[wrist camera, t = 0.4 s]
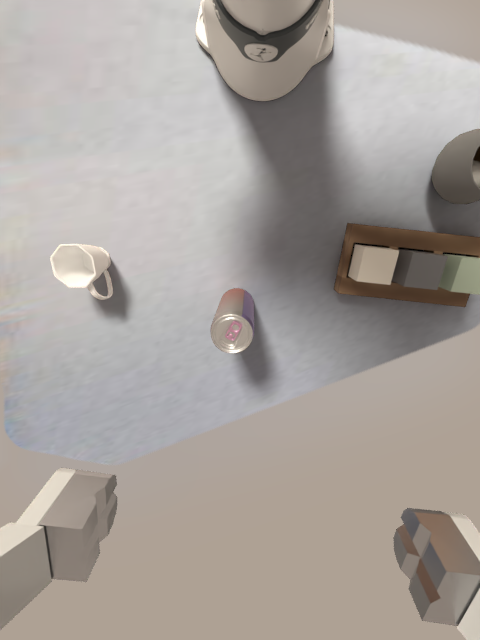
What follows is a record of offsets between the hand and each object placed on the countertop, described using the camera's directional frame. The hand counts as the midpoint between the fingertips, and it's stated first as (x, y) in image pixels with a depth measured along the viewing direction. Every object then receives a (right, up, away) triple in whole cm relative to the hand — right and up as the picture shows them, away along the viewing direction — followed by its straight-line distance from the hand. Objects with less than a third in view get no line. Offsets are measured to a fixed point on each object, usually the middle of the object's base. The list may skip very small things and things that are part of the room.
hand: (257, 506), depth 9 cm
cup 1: (-24, +15, +45) cm, 53 cm away
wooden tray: (+27, +15, +43) cm, 52 cm away
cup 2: (+32, +28, +38) cm, 57 cm away
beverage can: (-1, +8, +46) cm, 47 cm away
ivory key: (+20, +15, +40) cm, 47 cm away
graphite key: (+27, +14, +40) cm, 50 cm away
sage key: (+34, +13, +40) cm, 54 cm away
